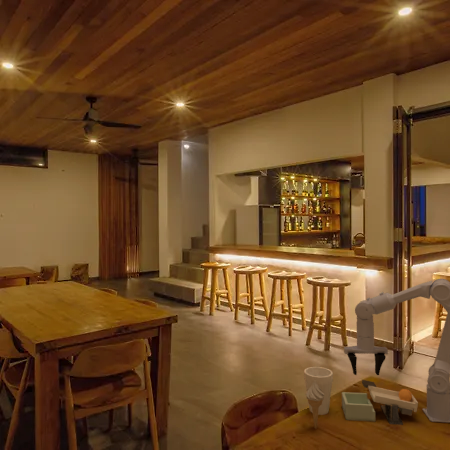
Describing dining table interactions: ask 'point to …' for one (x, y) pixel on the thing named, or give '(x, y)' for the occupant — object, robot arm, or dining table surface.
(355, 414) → the cup
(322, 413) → the foam cup
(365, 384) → the lever board
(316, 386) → the ice cream cone
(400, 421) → the lever stand
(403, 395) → the ball
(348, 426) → the dining table surface
